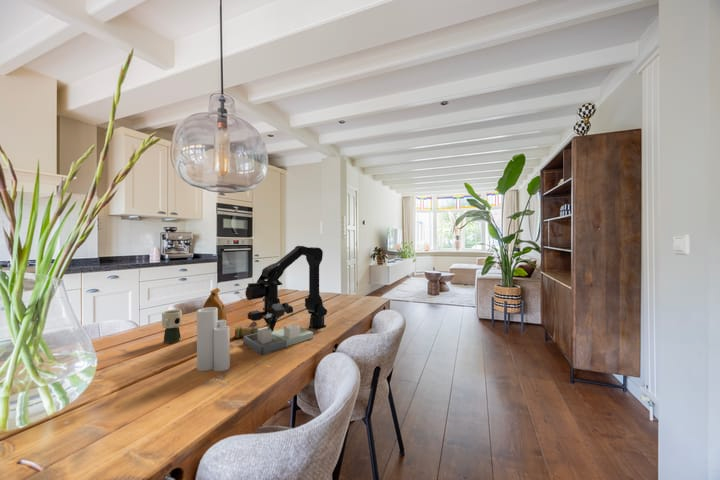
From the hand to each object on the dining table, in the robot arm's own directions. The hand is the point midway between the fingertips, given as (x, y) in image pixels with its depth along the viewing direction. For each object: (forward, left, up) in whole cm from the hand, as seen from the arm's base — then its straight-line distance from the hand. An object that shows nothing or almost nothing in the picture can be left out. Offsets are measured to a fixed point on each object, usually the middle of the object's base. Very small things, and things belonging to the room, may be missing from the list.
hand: (271, 331), depth 127 cm
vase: (+26, +9, -4) cm, 28 cm away
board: (-8, +3, -4) cm, 9 cm away
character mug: (+31, -29, -4) cm, 43 cm away
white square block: (+1, 0, -1) cm, 1 cm away
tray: (+5, +3, -4) cm, 7 cm away
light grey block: (-6, +7, -1) cm, 10 cm away
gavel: (+1, -19, -4) cm, 20 cm away
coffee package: (+17, -19, -4) cm, 26 cm away
